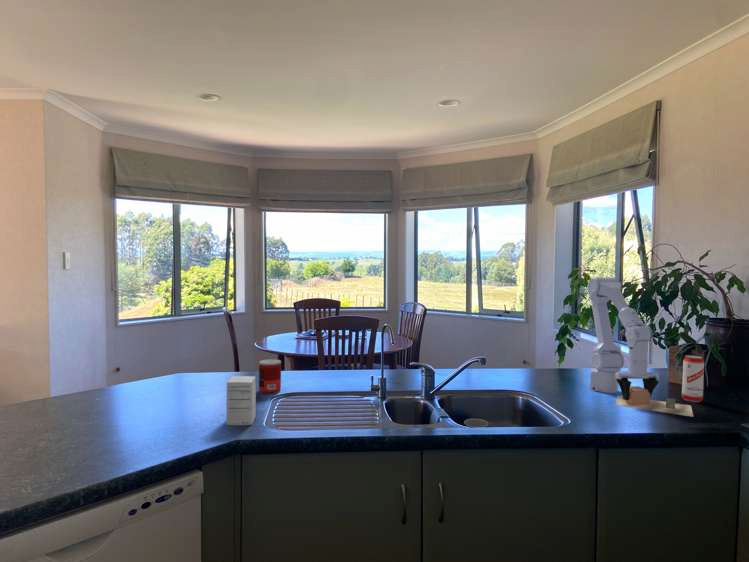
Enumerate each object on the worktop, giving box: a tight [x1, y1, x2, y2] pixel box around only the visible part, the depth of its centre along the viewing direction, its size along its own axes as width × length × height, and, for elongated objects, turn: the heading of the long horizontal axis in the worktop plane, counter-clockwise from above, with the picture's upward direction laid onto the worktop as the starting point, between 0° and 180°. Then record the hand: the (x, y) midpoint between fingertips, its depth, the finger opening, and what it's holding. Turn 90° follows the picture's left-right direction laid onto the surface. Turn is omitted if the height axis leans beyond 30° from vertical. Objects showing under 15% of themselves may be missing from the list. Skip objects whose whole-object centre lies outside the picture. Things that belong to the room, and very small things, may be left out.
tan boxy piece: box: [623, 385, 651, 405], centre depth 160 cm, size 6×5×5 cm
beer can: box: [681, 354, 705, 403], centre depth 169 cm, size 6×6×16 cm
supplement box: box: [226, 375, 257, 426], centre depth 138 cm, size 7×7×13 cm
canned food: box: [258, 358, 282, 395], centre depth 170 cm, size 8×8×11 cm
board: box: [614, 394, 694, 418], centre depth 158 cm, size 22×14×4 cm, turn 59°
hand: (636, 399), depth 160 cm, fingers open, 7 cm apart
